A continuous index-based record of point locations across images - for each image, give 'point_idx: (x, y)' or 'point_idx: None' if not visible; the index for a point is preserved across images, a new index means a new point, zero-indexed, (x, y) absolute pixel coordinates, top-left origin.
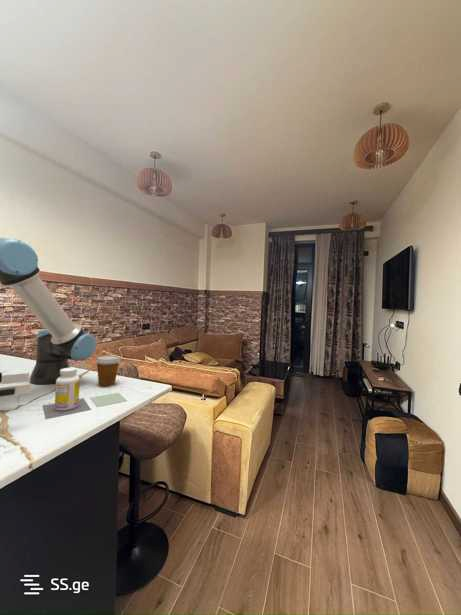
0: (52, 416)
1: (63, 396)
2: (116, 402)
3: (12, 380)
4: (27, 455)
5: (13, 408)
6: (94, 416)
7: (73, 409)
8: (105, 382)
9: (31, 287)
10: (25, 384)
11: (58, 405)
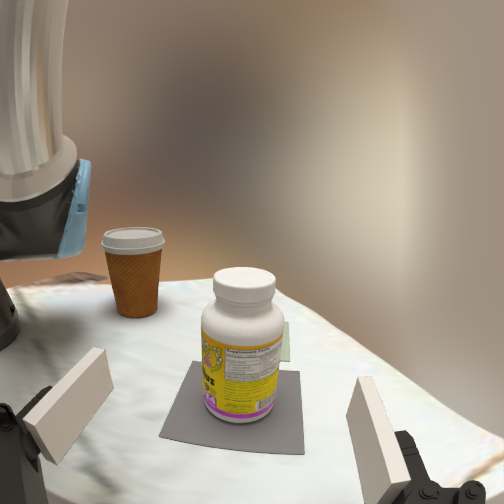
0: (295, 439)
1: (275, 375)
2: (287, 333)
3: (76, 420)
4: (499, 459)
5: (98, 491)
6: (350, 374)
7: None
8: (150, 303)
9: None
10: (374, 390)
11: (259, 408)
